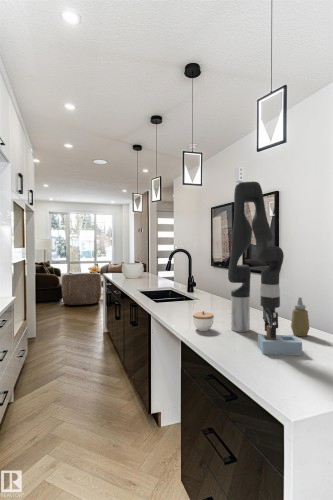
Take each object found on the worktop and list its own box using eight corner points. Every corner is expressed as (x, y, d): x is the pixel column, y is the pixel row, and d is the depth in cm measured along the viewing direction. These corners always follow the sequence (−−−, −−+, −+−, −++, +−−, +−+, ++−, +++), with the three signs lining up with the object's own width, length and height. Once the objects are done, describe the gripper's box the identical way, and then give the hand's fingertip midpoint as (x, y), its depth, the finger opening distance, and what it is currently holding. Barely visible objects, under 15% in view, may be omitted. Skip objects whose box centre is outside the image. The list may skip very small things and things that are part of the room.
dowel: (265, 349, 120) (265, 325, 120) (273, 349, 120) (273, 325, 120) (267, 351, 117) (267, 327, 117) (275, 351, 117) (275, 327, 117)
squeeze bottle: (299, 331, 144) (299, 295, 144) (313, 336, 136) (313, 298, 136) (287, 333, 141) (287, 296, 141) (300, 338, 133) (300, 299, 133)
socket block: (257, 346, 123) (257, 334, 123) (294, 347, 122) (294, 335, 122) (262, 354, 114) (262, 341, 114) (302, 355, 113) (302, 342, 113)
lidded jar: (213, 333, 143) (213, 314, 143) (191, 331, 145) (191, 313, 145) (214, 327, 153) (214, 309, 153) (194, 326, 155) (193, 308, 155)
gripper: (256, 292, 126) (257, 329, 126) (264, 297, 112) (265, 339, 112) (274, 292, 125) (274, 329, 125) (284, 298, 111) (285, 340, 111)
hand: (270, 334), depth 118 cm, fingers open, 8 cm apart
